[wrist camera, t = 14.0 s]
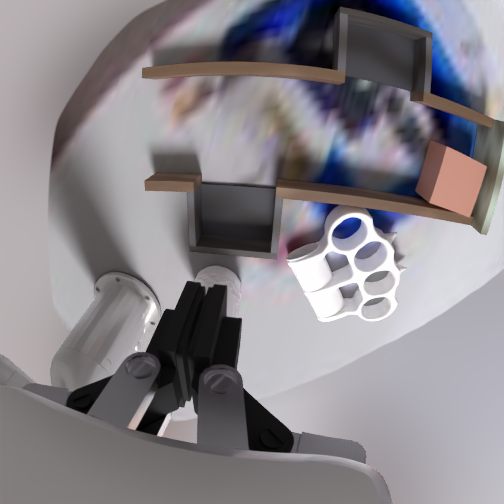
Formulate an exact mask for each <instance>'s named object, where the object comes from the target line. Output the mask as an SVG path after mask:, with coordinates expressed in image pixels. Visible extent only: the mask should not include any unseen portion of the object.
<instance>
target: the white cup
mask: <svg viewBox="0 0 504 504" xmlns="http://www.w3.org/2000/svg"><path fill="white" fill-rule="evenodd" d="M194 282H200V283H201V286H205V289H206V293H207V290H208V287H213V285H214V284H219V285H227V317H235V318H239V311H240V295H241V282H240V280H239V279H238V277H237V275H236V274H235V273H233V272H232V271H231V270H229V269H228V268H225V267H221V266H217V265H216V266H209V267H206V268H204V269H203V270H201V271H200V272H199V273H198V275H197V276H196V278H195V280H194Z"/></svg>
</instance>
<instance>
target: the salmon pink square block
mask: <svg viewBox="0 0 504 504" xmlns="http://www.w3.org/2000/svg"><path fill="white" fill-rule="evenodd" d="M486 168H487V166H485V165H483V164H481V163H479V162H478V161H476V160H474V159H472V158H470V157H468V156H466V155H464V154H462V153H460V152H458V151H456V150H454V149H452V148H449V147H447V146H445V145H442V144H439V143H437V142H434V141H431V140H430V142H429V146H428V149H427V153H426V157H425V160H424V164H423V167H422V170H421V174H420V177H419V180H418V183H417V186H416V189H415V192H417V193H418V194H419V195H420V196H422V197H423V198H424V199H425V200H427V201H428V202H429V203H431V204H434V205H437V206H440V207H443V208H445V209H448V210H451V211H454V212H456V213H459V214H462V215H464V216H467V217H469V218H470V215H471V213H472V210H473V207H474V205H475V202H476V199H477V196H478V193H479V191H480V188H481V185H482V181H483V178H484V175H485V172H486Z"/></svg>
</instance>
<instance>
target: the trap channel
mask: <svg viewBox="0 0 504 504" xmlns="http://www.w3.org/2000/svg"><path fill="white" fill-rule="evenodd" d="M431 73H432V33H431V32H428V31H426V30H423V29H420V28H418V27H415V26H412V25H409V24H406V23H403V22H400V21H397V20H393V19H390V18H386V17H383V16H379V15H375V14H371V13H367V12H363V11H359V10H354V9H349V8H344V7H340V8H339V9H338V11H337V12H336V14H335V15H334V43H333V62H332V69H326V68H318V67H311V66H302V65H292V64H281V63H265V62H199V63H183V64H172V65H162V66H153V67H146V68H142V78H146V79H163V78H175V77H191V76H264V77H279V78H291V79H301V80H310V81H317V82H325V83H331V84H342V83H345V76H349V77H354V78H359V79H364V80H368V81H373V82H377V83H382V84H386V85H390V86H393V87H397V88H401V89H405V90H408V91H411V98H410V101H413V102H417V103H420V104H423V105H426V106H429V107H433V108H436V109H439V110H442V111H444V112H447V113H450V114H453V115H455V116H458V117H461V118H463V119H466V120H468V121H471V122H473V123H476V124H478V125H477V132H476V139H475V145H474V151H473V157H472V159H474V160H476V161H478V162H479V163H481V164H483V165H485V166H487V168H486V172H485V175H484V178H483V181H482V185H481V188H480V191H479V193H478V196H477V199H476V202H475V205H474V207H473V210H472V213H471V215H470V218H469V217H467V216H464V215H462V214H459V213H456V212H454V211H451V210H448V209H445V208H443V207H440V206H437V205H434V204H431V203H429V202H428V201H427V200H425V199H421V198H415V197H410V196H404V195H399V194H393V193H387V192H381V191H374V190H368V189H361V188H354V187H346V186H339V185H331V184H323V183H314V182H305V181H295V180H285V179H277V185H276V188H265V187H252V186H237V185H221V184H202V174H182V173H155V174H154V175H152V176H151V177H149V178H148V179H146V180H145V191H175V192H187V207H188V229H189V247H190V252H201V253H212V254H223V255H233V256H244V257H255V258H266V259H277V254H278V244H279V235H280V225H281V215H282V204H283V199H293V200H303V201H313V202H322V203H331V204H339V205H348V206H355V207H363V208H370V209H378V210H385V211H391V212H398V213H405V214H411V215H417V216H423V217H429V218H435V219H440V220H446V221H451V222H457V223H462V224H467V225H471V226H472V227H473V228H475V229H476V230H477V231H478V232H479V233H480V234H484V235H487V232H488V229H489V226H490V223H491V220H492V217H493V213H494V210H495V206H496V203H497V199H498V195H499V192H500V188H501V183H502V179H503V175H504V122H502V121H498V120H494V119H492V118H490V117H488V116H486V115H483V114H481V113H479V112H477V111H475V110H472V109H470V108H468V107H465V106H463V105H460V104H458V103H455V102H453V101H450V100H447V99H445V98H442V97H439V96H436V95H433V94H430V88H431Z"/></svg>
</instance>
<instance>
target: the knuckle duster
mask: <svg viewBox="0 0 504 504" xmlns="http://www.w3.org/2000/svg"><path fill="white" fill-rule="evenodd" d="M350 217H357V218H360V219H361V226H360V228H359V229H358V231H357V232H355V233H354V234H353V235H352V236H350V237H348V238H346V239H338V238H335V237H334V236H333V235H332V232H333V230H334V228H335V227H336V226H337V225H338V224H340V223H341V222H342V221H343V220H345V219H347V218H350ZM324 230H325V233H324V235H323V236H322V238H321V240H320V241H318V242H315V243H311V244H307V245H304V246H302V247H300V248H297V249H296V250H294V251H292V252H291V253H290V254H288V255H287V257H286V259H287V261H288V265H289V266H291V268H292V270H293V272H294V274H295V275H296V277H297V279H298V281H299V283H300V285H301V287H302V288H303V290H304V294H305V295H306V296H307V298H308V300H309V301H310V303H311V305H312V307H313V309H314V311H315V313H316V315H317V318H318V320H320V321H323V322H328V321H333V320H335V319H338V318H341V317H344V316H346V315H349V314H354V315H359V316H360V317H361V318H362V319H364V320H367V321H378V320H381V319H384V318H386V317H387V316H389V315H390V314H391V313H392V312H393V311H394V310H395V308H396V306H397V304H398V301H397V299H396V297H395V290H396V287H397V285H398V284H399V282H400V273H401V272H402V271H404V270H405V269H406V268H407V267H404V266H401V265H397V263H396V262H395V260H394V252H395V250H394V248H393V246H392V245H391V244H392V242H393V240H394V238H395V236H396V234H397V232H394V233H387V234H384V233H383V231H382V230H381V229H378V228H376V227H375V226H374V225H373V218H372V217H371V215H370V214H369V212H368V211H367V210H366V209H365V208H363V207H355V206H348V205H339V206H337V207H336V208H334V209H333V210H332V211H331V212H330V213H329V215H328V216H327V218H326V221H325V225H324ZM372 241H379V242H381V245H380V248H379V249H378V251H377V252H376V253H374V254H373V255H372V256H370V257H369V258H367V259H357V258H355V255H356V253H357V251H358V250H359V249H360V248H362V247H363V246H364V245H366V244H367V243H369V242H372ZM330 251H335V252H337V253H339V254H344V255H346V256H347V258H348V261H349V263H348V265H347V266H345V267H343V268H340V269H338V270H335V271H333V272H331V269H330V267H329V265H328V263H327V261H326V259H325V255H326V254H327V253H328V252H330ZM384 270H387V271H389V272H388V274H387V276H386V277H385V278H384V279H382V280H380V281H376V282H365V280H366V278H367V277H368V276H369V275H370V274H372V273H374V272H377V271H384ZM353 282H354V283H357V284H358V286H359V288H358V289H357V291H356V292H355V294H354V296H353V297H352V298H343V297H342V294H341V292H340V290H339V287H342V286H344V285H347V284H349V283H353ZM378 297H385V298H384V299H383V300H382V301H381V302H380V303H378V304H375V305H370V306H364V304H365V303H366V302H367V301H368V300H370V299H373V298H378Z"/></svg>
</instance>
